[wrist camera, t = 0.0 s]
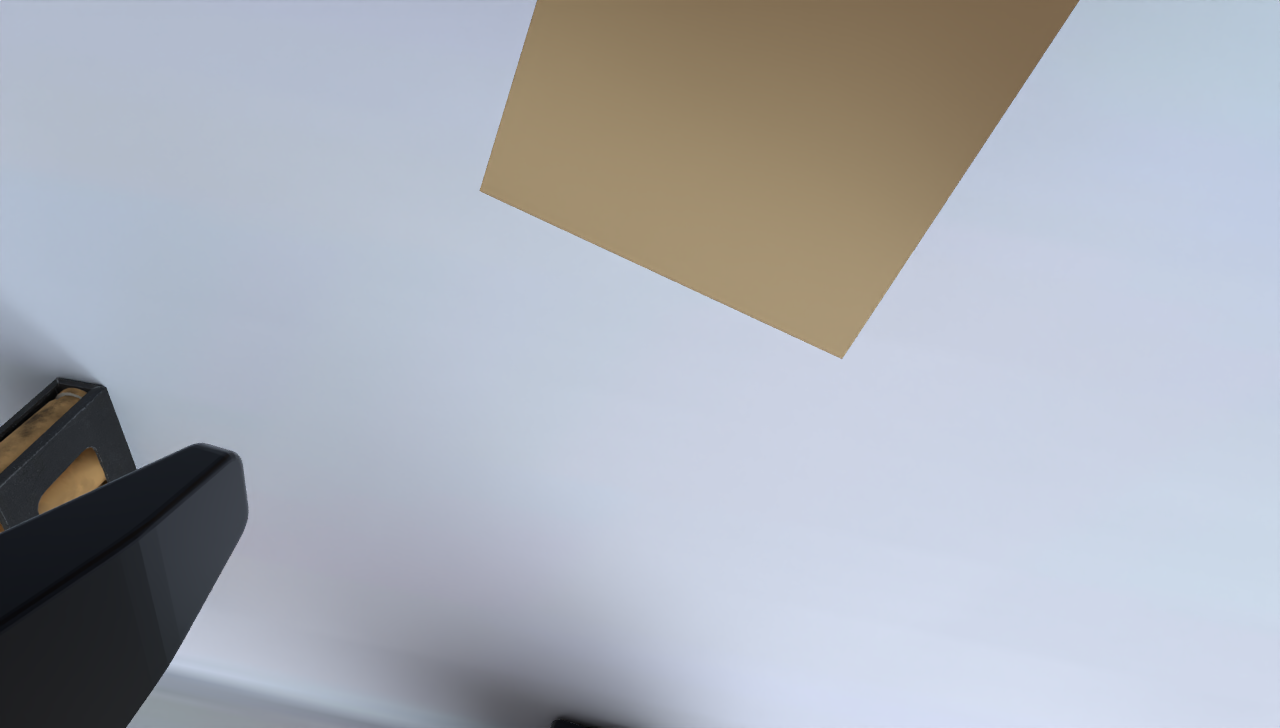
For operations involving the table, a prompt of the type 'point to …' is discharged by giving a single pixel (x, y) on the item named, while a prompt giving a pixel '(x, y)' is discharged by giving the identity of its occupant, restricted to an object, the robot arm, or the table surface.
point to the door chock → (761, 138)
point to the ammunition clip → (59, 450)
